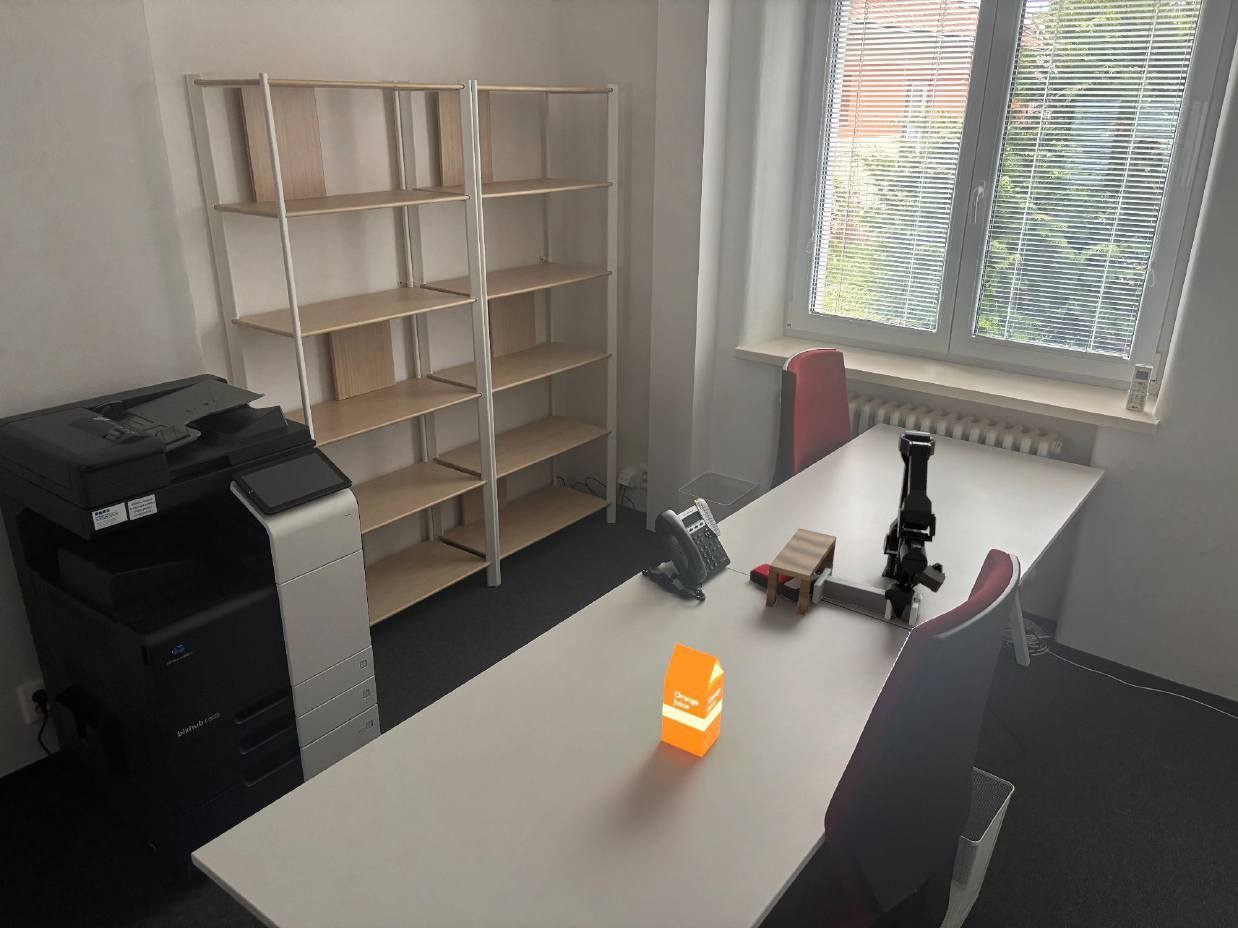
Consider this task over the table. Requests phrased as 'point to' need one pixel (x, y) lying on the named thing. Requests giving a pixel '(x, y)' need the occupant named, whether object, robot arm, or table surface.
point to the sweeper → (861, 596)
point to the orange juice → (692, 700)
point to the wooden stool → (801, 564)
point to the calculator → (781, 582)
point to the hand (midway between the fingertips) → (901, 611)
